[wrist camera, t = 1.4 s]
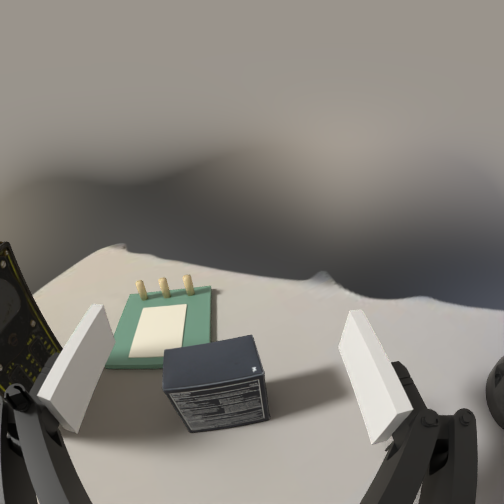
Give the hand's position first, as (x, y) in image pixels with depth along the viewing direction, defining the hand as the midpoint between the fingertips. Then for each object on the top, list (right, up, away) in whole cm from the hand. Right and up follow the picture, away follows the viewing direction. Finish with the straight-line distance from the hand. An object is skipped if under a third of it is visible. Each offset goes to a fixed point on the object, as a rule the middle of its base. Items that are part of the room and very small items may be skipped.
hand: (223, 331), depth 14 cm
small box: (-2, -17, +18) cm, 25 cm away
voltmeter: (-33, -20, +17) cm, 42 cm away
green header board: (-15, -9, +33) cm, 38 cm away
